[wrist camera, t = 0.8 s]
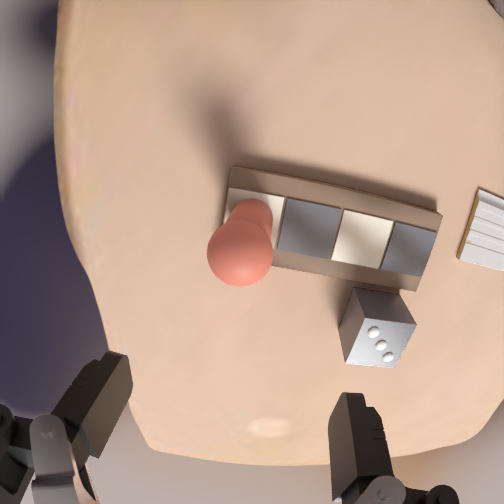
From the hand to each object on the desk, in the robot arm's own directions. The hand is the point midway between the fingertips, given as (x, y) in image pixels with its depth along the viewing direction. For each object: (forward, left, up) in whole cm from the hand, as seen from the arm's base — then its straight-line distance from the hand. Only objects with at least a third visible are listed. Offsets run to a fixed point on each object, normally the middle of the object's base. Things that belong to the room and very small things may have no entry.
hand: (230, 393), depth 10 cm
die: (+9, +14, -22) cm, 28 cm away
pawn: (0, -1, -21) cm, 21 cm away
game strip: (0, +7, -22) cm, 23 cm away
